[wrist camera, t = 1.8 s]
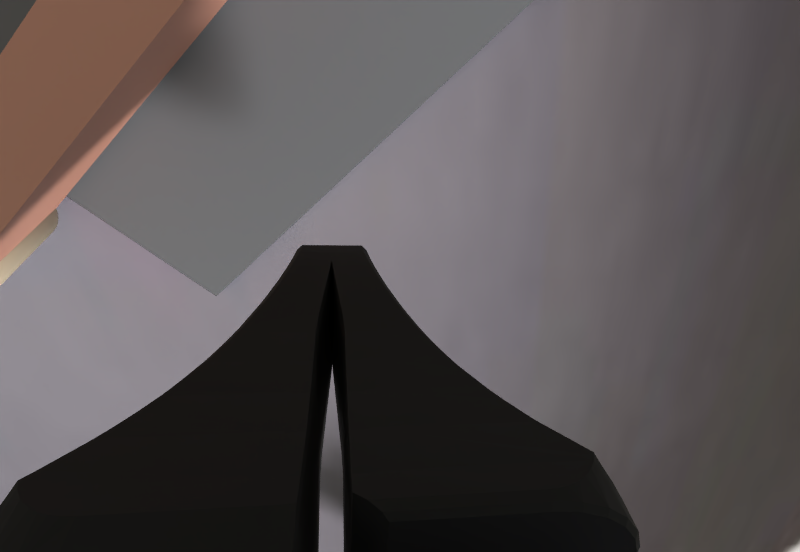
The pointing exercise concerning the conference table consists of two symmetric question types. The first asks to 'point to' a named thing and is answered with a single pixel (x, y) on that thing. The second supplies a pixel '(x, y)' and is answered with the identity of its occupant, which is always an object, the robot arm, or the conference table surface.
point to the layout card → (270, 119)
